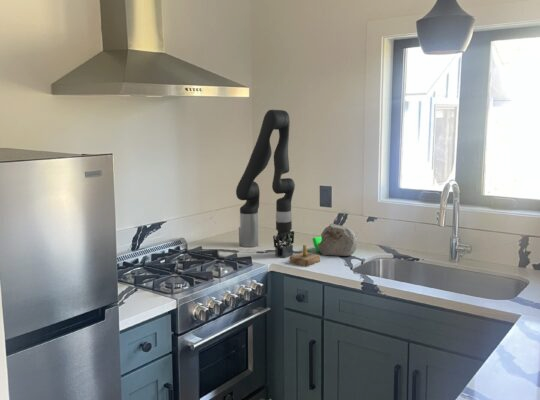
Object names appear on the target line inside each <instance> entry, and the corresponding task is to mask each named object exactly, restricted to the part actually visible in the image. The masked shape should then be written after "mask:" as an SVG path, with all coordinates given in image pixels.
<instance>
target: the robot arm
mask: <svg viewBox="0 0 540 400" xmlns="http://www.w3.org/2000/svg"><path fill="white" fill-rule="evenodd" d="M290 121H291V119H290V115H289V113H288V112H287V111H286V110H283V109H268V111H266V113H265V115H264V116H263V120H262V124H261V128H260V131H259V134H258V136H257V140H256V142H255V145H254V147H253V150H252V152H251V155H250V157H249V159H248V163H247V165H246V168H245V170H244V172H243V174H242V175H241V177H240V180H239V181H238V182H237V183H238V184H237V186H236V188H235V195H236V198H237V199H238V200H240V201H245V203H244V204H243V205H241V206H240V208H239V227H238V244H239V246H240V247H244V248H254V247H259V213H258V212H259V211H258V210H259V208H260V195H261V194H260V186H259V184H258V183H257V181H255V179H256V178H257V177H258V176H259V175H260V174H261V173H262V172H263V171H264V170H265V168H267V166H268V164H269V162H270V160H271V157H272V153H273V166H274V171H273V179H272V185H271V186H272V187H271V188H272V191H273V193H275V194H278V195H279V194H284V196H282V197H280V198H277V199H276V201H275V203H276V204H275V205H276V206H275V207H276V208H275V209H276V212H275V230H276V231H277V234H276V235H273V236H272V238H273V247H274V249H275V248H277V253H278V256H282V246H283V244H289V245H293V244H294V243H295V241H294V240H295V239H294V238H295V231H294V230H292V229H293V227H292V225H293V224H292V223H293V222H292V221H293V217H292V216H293V215H292V200H293V196H294V191H295V188H296V187H295V186H296V184H295V181H294V180H293V178H290V177H287V178H285V177H284V178H282V175H285V174H287V173H289V171H290V161H289V160H290V159H289V140H290V139H289V138H290ZM274 130H275V131H276V130H278V137H279V138H278V142H277V145H276V148H275V149H274V152H273V151H272V146H271V140H270V139H271V136H272V134H273V131H274ZM280 244H281V245H280ZM278 256H277V257H278Z"/></svg>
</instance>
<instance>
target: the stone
mask: <svg viewBox="0 0 540 400" xmlns="http://www.w3.org/2000/svg"><path fill="white" fill-rule="evenodd" d="M321 236H322V240H321V242H320V243H318V249H319V251H320V253H321V254H322V255H324V256H340V257H341V256H343V257H348V256H349V257H350V256H351V255H353V254H354V253H355V252H356V250H357V247H358V239H357V236H356V233H355V232H354V231H353V230H352V229H350V228H349V227H347V226H344V225H340V224H336V223H330V224H329V225H328V226H327V227H325V228H324V229H323V230H322V232H321V234H320V237H321ZM319 251H318V252H319Z"/></svg>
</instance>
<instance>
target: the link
mask: <svg viewBox="0 0 540 400" xmlns="http://www.w3.org/2000/svg"><path fill="white" fill-rule="evenodd" d="M280 245H281V244H280ZM293 247H294V245H293V244H291V245H289V244H286V243H284V244H283V246H282V256H278V253H277V248H275V247H274V251H275V252H274V254H275V257H277V258H278V257H280V258H284V259H285V258H290V256H293V255H294V248H293Z"/></svg>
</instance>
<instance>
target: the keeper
mask: <svg viewBox="0 0 540 400" xmlns="http://www.w3.org/2000/svg"><path fill="white" fill-rule="evenodd" d="M320 262H321V255H319V254H315V253H310V252H309V253H308V245H307V244H303V245H302V251H301V252H299V253H296V254H293V255H292V256H289V264H293V265H298V266H302V267H307V266H308V267H311V266H313V265H315V263H316V264H317V263H320ZM310 265H311V266H310Z"/></svg>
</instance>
